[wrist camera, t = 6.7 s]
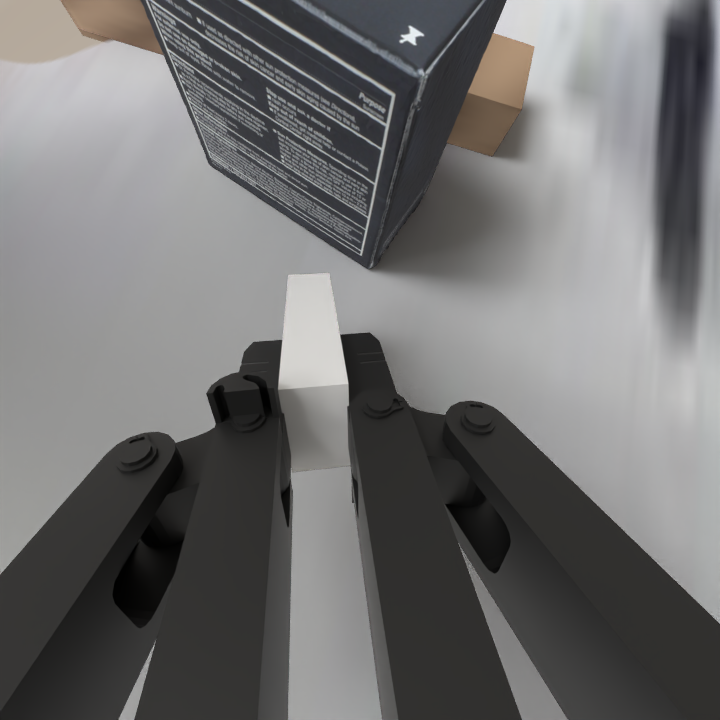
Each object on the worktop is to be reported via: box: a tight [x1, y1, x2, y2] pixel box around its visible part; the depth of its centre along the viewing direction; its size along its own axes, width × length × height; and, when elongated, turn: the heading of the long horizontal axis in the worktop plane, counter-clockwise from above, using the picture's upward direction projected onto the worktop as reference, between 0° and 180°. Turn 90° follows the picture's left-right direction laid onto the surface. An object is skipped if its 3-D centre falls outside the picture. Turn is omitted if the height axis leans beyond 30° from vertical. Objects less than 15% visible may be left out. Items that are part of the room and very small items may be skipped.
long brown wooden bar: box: [61, 0, 534, 157], centre depth 19 cm, size 24×4×4 cm, turn 75°
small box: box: [140, 0, 506, 269], centre depth 14 cm, size 11×6×10 cm, turn 57°
